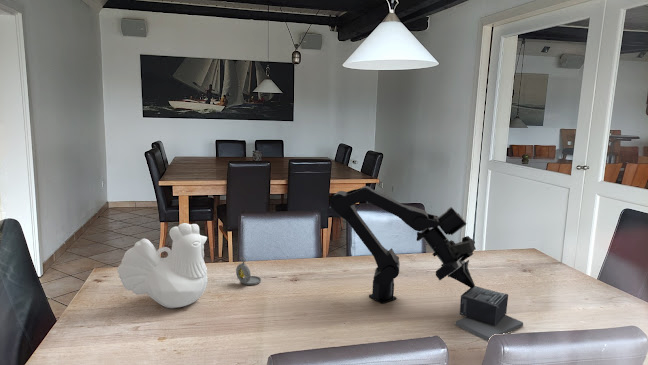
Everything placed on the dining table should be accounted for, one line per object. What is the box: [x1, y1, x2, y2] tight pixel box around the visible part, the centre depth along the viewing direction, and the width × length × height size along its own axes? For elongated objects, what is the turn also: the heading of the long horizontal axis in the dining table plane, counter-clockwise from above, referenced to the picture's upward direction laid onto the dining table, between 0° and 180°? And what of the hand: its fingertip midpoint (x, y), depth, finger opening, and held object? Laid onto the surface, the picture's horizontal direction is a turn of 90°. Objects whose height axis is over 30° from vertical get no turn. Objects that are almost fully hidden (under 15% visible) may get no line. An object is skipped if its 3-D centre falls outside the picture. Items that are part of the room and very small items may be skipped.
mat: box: [454, 314, 524, 342], centre depth 124 cm, size 16×11×1 cm
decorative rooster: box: [116, 222, 209, 309], centre depth 131 cm, size 25×16×25 cm, turn 107°
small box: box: [459, 285, 509, 326], centre depth 128 cm, size 11×6×10 cm
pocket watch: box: [235, 256, 262, 286], centre depth 150 cm, size 8×8×10 cm
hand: (473, 287), depth 130 cm, fingers closed
